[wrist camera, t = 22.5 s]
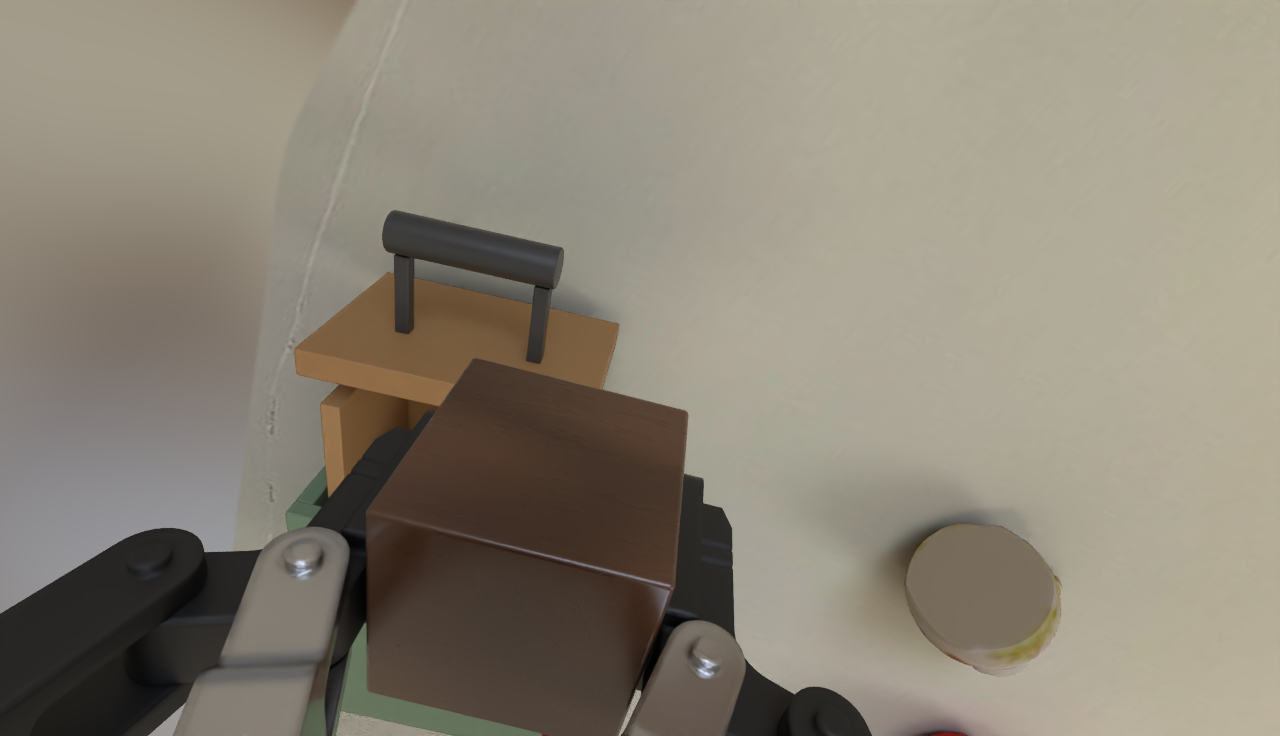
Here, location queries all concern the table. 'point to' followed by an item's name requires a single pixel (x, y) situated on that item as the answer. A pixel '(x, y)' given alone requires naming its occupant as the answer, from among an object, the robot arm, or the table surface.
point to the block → (526, 553)
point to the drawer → (441, 334)
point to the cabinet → (357, 699)
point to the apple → (947, 734)
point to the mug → (983, 597)
